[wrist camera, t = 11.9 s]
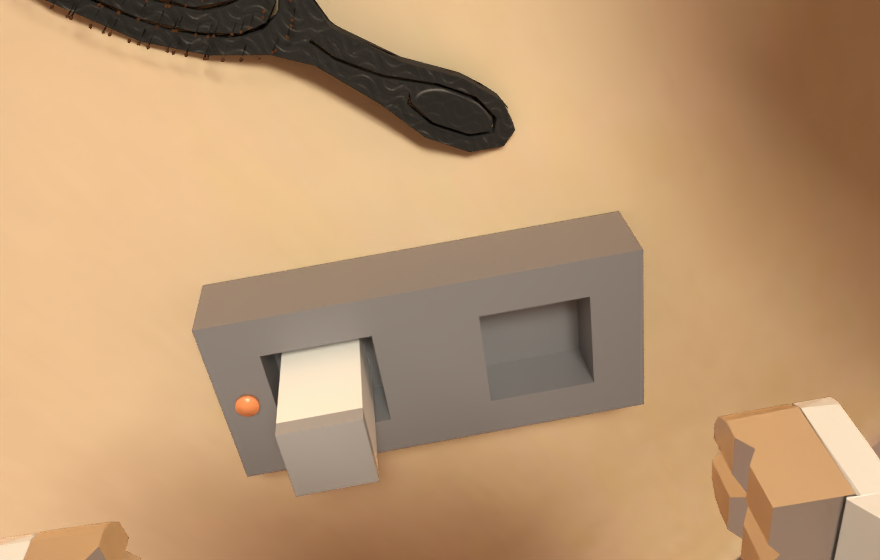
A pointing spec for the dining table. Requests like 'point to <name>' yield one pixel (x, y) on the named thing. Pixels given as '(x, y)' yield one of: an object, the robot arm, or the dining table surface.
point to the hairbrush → (317, 59)
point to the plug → (327, 417)
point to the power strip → (442, 333)
